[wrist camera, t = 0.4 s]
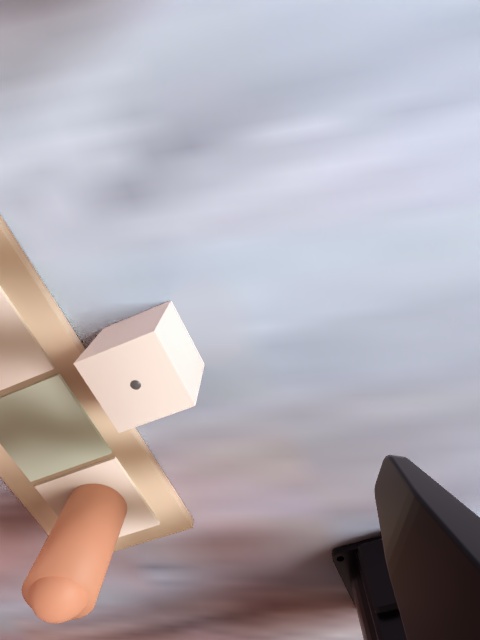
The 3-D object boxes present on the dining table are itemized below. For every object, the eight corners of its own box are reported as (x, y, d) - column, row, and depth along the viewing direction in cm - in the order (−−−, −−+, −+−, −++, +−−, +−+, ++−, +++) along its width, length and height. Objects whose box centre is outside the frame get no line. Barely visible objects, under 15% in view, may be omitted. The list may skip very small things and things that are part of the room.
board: (193, 519, 26) (191, 530, 26) (75, 556, 28) (71, 567, 27) (-69, 105, 18) (-83, 103, 17) (-220, 191, 19) (-239, 193, 18)
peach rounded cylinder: (137, 518, 25) (102, 631, 19) (88, 533, 26) (39, 648, 20) (108, 476, 24) (60, 583, 18) (57, 493, 25) (-5, 603, 19)
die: (204, 363, 22) (195, 406, 18) (138, 388, 23) (116, 435, 19) (171, 299, 21) (153, 331, 17) (102, 328, 21) (70, 365, 18)
